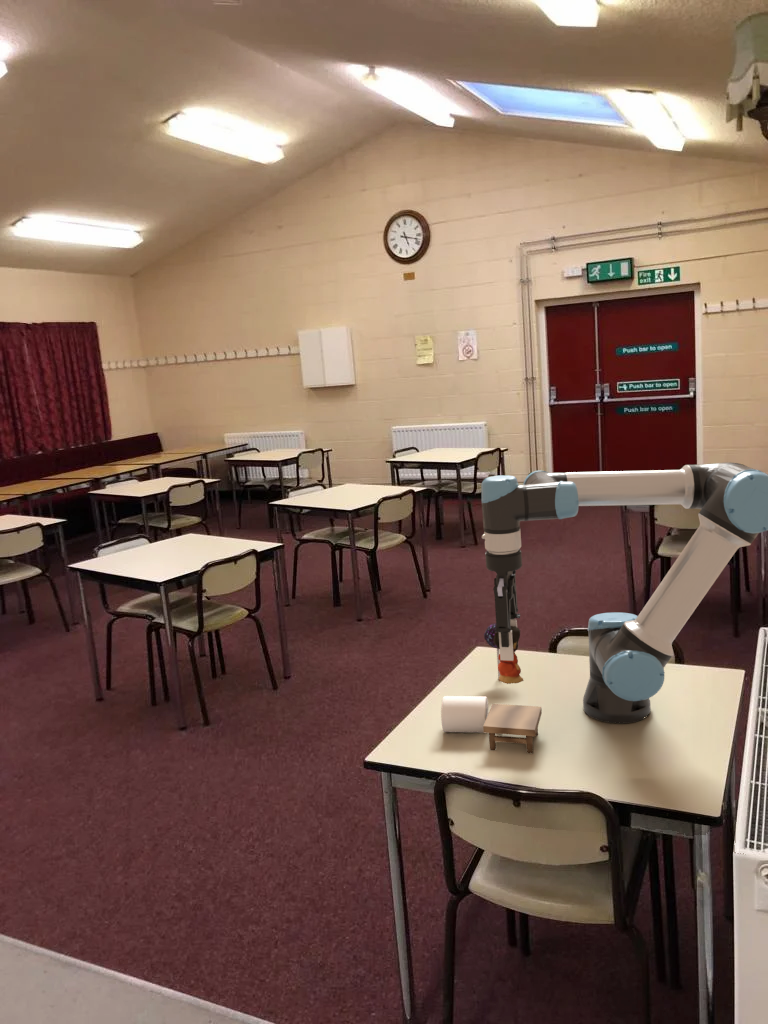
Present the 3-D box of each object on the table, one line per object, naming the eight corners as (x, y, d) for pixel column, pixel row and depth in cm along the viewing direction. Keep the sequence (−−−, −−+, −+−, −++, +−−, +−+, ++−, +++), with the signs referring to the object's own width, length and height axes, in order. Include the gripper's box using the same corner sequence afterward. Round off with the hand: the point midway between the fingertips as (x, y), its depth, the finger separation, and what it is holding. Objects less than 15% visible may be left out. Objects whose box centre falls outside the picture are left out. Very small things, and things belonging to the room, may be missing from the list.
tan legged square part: (542, 731, 178) (541, 706, 177) (536, 756, 168) (534, 729, 167) (493, 727, 181) (492, 703, 180) (484, 751, 171) (483, 726, 170)
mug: (486, 739, 177) (484, 706, 175) (442, 738, 179) (440, 705, 177) (490, 714, 188) (488, 683, 187) (448, 713, 190) (446, 683, 189)
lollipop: (486, 672, 212) (483, 619, 209) (512, 672, 211) (509, 618, 208) (486, 683, 205) (483, 628, 202) (513, 683, 204) (510, 628, 201)
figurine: (520, 686, 167) (517, 631, 165) (494, 684, 169) (490, 630, 167) (526, 676, 173) (523, 622, 171) (501, 674, 175) (498, 622, 173)
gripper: (493, 538, 176) (499, 637, 180) (476, 562, 158) (484, 670, 163) (527, 538, 173) (533, 638, 178) (514, 562, 156) (520, 672, 160)
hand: (509, 653), depth 170 cm, fingers closed on figurine, 6 cm apart
